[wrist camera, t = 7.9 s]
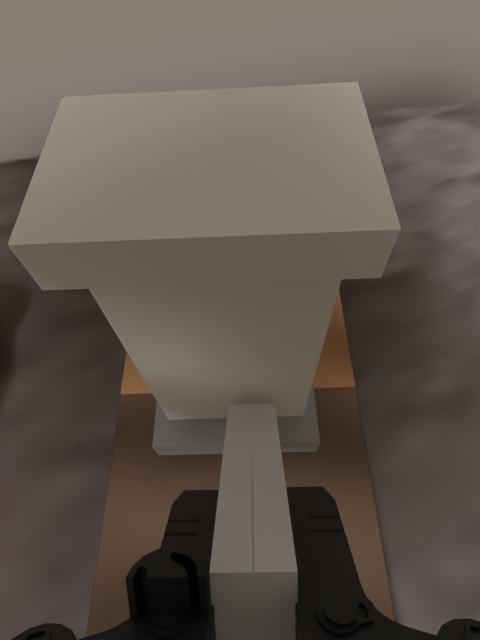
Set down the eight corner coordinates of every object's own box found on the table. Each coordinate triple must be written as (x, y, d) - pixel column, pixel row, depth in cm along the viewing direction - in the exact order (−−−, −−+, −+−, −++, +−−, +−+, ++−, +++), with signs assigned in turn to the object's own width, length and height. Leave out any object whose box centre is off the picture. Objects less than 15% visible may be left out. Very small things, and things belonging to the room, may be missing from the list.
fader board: (423, 898, 12) (454, 958, 10) (72, 896, 12) (39, 954, 10) (322, 248, 24) (327, 222, 22) (152, 254, 24) (144, 229, 23)
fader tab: (316, 451, 16) (408, 254, 6) (159, 455, 16) (-3, 271, 6) (303, 336, 18) (353, 68, 8) (169, 340, 18) (66, 82, 9)
